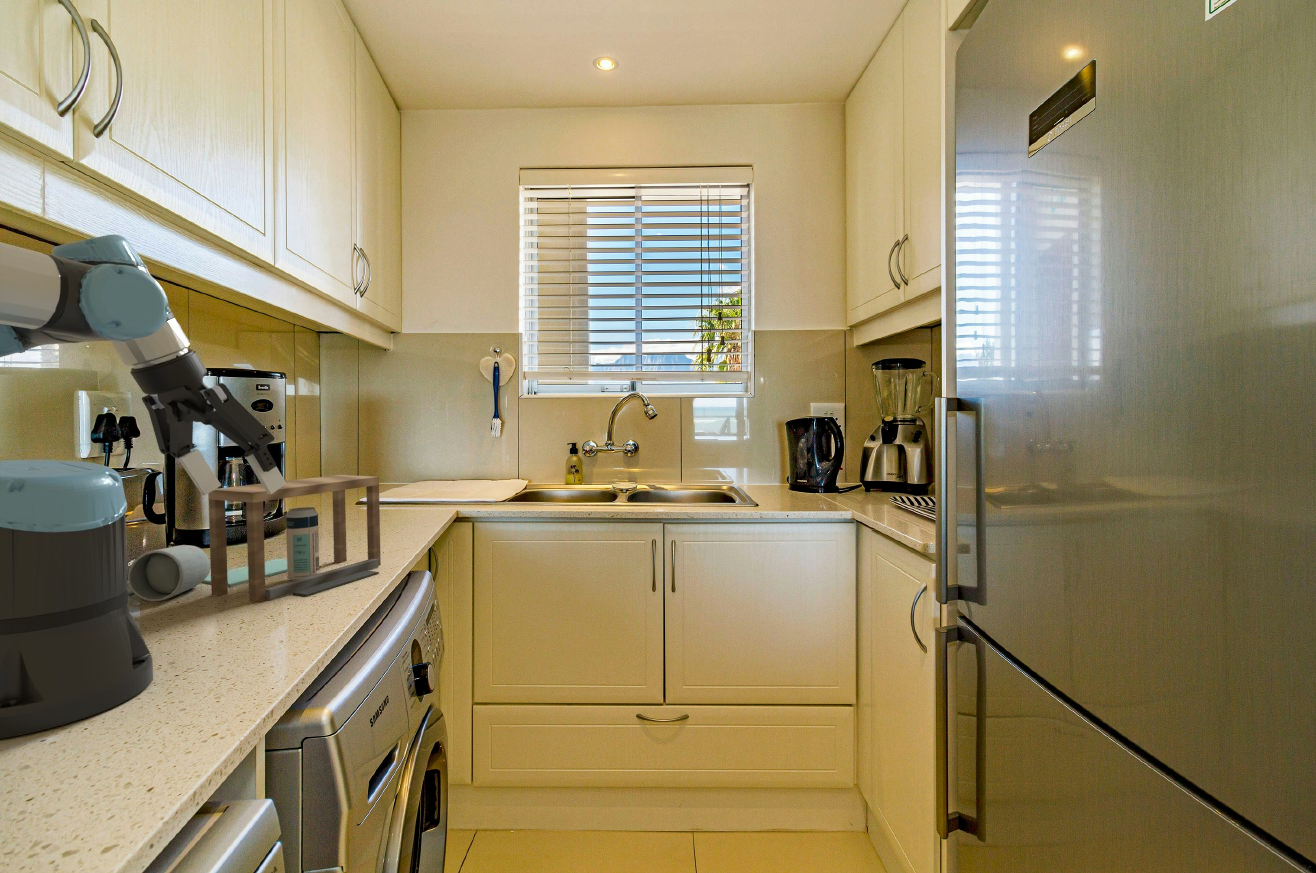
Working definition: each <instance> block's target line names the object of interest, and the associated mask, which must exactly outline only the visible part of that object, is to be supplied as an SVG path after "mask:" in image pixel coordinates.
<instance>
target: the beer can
mask: <svg viewBox="0 0 1316 873" xmlns="http://www.w3.org/2000/svg"><path fill="white" fill-rule="evenodd" d="M285 529H286V531H285V532H286V535H285V536H286V537H285V538H286V559H287V572H286V573H287V577H286V578H287V580H289V581H290V582H291V581H295V580H298V579H302V578H305V577H309V576H312V575H316V574H319V573H320V545H319V544H320V539H319V536H320V535H319V512H318V511H317V510H316V507H312V506H311V507H309V506H308V507H307V506H306V507H294V508H290V509H288V511H287V513H286V515H285Z"/></svg>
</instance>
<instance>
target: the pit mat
mask: <svg viewBox="0 0 1316 873" xmlns="http://www.w3.org/2000/svg"><path fill="white" fill-rule="evenodd" d="M379 574H380V573H379V571H374V570H368V571H367V570H365V571H362V572H359V573H356V574H352V575H349V576H346V577H342V578H339V579H336V580H332V581H329V582H326V583H323V584H319V585H316V586H313V587H309V588H306V589H303V590H299V591H296V592H293V593H292V595H295V596H302V597H307V598H308V597H309V596H313V595H315V594H318V593H322V592H326V591H328V590H332V589H334V588H338V587H340V586H341V587H342V586H344V585H347V584H350V583H354V582H357V581H359V580H363V579H365V578H369V577H372V576H376V575H379ZM325 590H326V591H325Z"/></svg>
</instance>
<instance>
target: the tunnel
mask: <svg viewBox="0 0 1316 873" xmlns="http://www.w3.org/2000/svg"><path fill="white" fill-rule="evenodd" d="M285 482H286V484H285V485H284V486H282V487H281V488H280V489H278V490H277V491H275V492H274V493H272V494H267V492H266V490H265V489H264V487H263V485H262V484H261V483H255V484H247V485H237V486H229V487H228V486H227V487H222V488H221V487H218V488H216V489H215V490H213V491H212V492H210V493H208V494H207V495H208V522H209V523H208V524H209V525H208V526H209V552H210V553H209V554H210V555H209V560H210V575H211V583H210V586H211V587H210V588H211V590H210V591H211V596H215V597H220V596H224V595H227V594H229V586H228V577H227V571H228V553H227V548H228V547H227V516H226V515H227V514H226V501H227V502H239V503H240V502H241V503H245V505H246V507H245V508H246V538H247V540H246V541H247V542H246V543H247V544H246V545H247V547H246V548H247V566H248V581H249V582H248V602H249V603H250V602H251V603H260V602H262V601H265V600H267V601H273V600H276V599H279V598H282V597H286V596H289V595H293V592H296V591H299V590H303V589H306V588H309V587H313V586H316V585H319V584H323V583H326V582H329V581H332V580H336V579H339V578H342V577H346V576H349V575H352V574H356V573H359V572H362V571H365V570H367V571H372V570H374V569H378V568H379V566H381V563H382V562H381V520H380V519H381V518H380V517H381V516H380V514H381V513H380V512H381V510H380V477H379V476H373V475H372V476H369V475H352V474H351V475H350V474H348V475H347V474H334V475H325V476H317V477H309V478H298V479H291V480H285ZM365 487H366V488H365ZM360 488H365V490H366V492H365V493H366V530H367V532H366V535H367V559H366V560H362V561H357V562H356V563H351V564H347V565H344V566H341V567H336V568H334V569H330V570H326V571H323V572H319V574H316V575H312V576H309V577H305V578H302V579H298V580H295V581H291V580H290V581H288V582H285V583H281V584H277V585H274V586H270V587H267V588H266V577H265V562H266V559H265V530H264V529H265V527H264V524H265V523H264V502H268V501H274V500H275V501H277V500H282V499H289V498H296V497H302V496H303V497H304V496H310V495H317V494H324V493H331V492H332V525H333V527H332V529H333V530H332V531H333V533H332V534H333V562H334V563H339V564H340V563H344V562H347V561H348V560H347V556H348V555H347V521H346V520H347V519H346V518H347V517H346V514H347V513H346V490H351V489H352V490H353V489H360Z"/></svg>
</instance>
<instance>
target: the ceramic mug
mask: <svg viewBox="0 0 1316 873" xmlns="http://www.w3.org/2000/svg"><path fill="white" fill-rule="evenodd" d="M210 573H211V562H210V556H209V555H208V554H207V553H206V552H205V550H203V549H202V548H201V547H198V546H196V545H188V544H187V545H186V544H181V545H174V546H170V547H166V548H161V549H154V550H150V551H147V552H145V553H142V554H141V555H139V556H137V558H136V559H135V560H134V561H133V562H132V563H131V565H130V567H129V569H128V571H127V582H128V597H129V595H130V596H132V594H133V595H135V596H137V597H138V598H139V599H142V600H143V601H148V602H162V600H163V601H166V600H168V599H170V598H173V597H175V596H177V595H180V594H182V593H184V592H186V591H189V590H192V589H193V588H196V587H197V586H199V585H200V584H202V583H204V582H203V581H204V580H205V578H206V577H207V576H208V575H210ZM134 593H135V594H134Z"/></svg>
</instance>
